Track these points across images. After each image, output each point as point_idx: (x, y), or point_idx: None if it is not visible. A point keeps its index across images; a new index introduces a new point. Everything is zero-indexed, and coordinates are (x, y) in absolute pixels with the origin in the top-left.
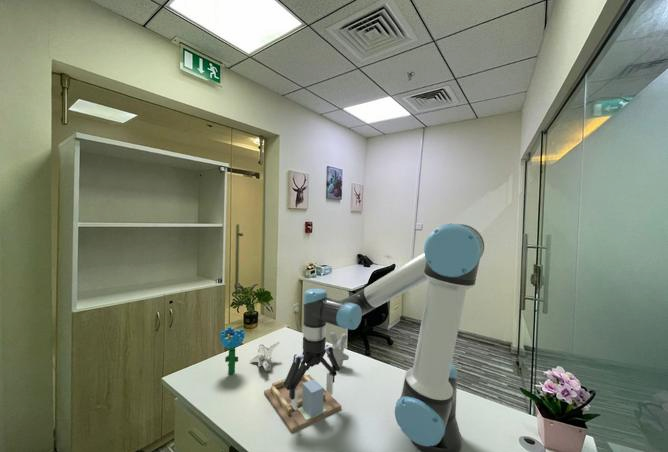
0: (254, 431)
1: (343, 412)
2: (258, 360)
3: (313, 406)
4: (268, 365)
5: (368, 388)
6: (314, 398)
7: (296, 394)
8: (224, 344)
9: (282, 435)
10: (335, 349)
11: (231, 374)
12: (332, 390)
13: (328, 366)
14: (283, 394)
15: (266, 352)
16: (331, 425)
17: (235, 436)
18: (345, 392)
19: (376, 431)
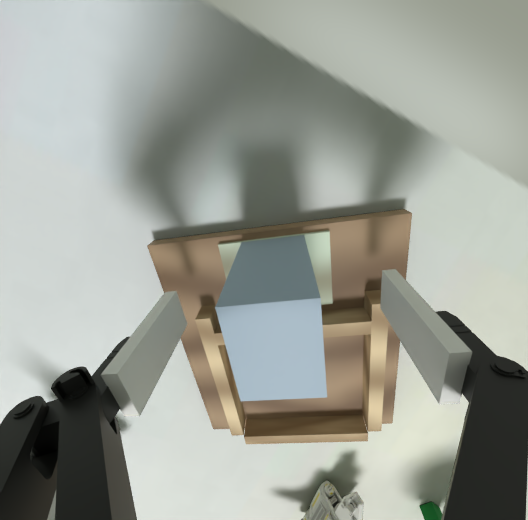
0: (515, 278)
1: (151, 219)
2: None
3: (295, 254)
4: (331, 504)
5: (7, 293)
6: (291, 275)
7: (438, 323)
8: None
9: (439, 214)
10: (53, 514)
11: (432, 503)
12: (156, 303)
13: (79, 485)
14: (341, 385)
15: None
16: (229, 173)
17: None
18: (108, 311)
19: (30, 30)
